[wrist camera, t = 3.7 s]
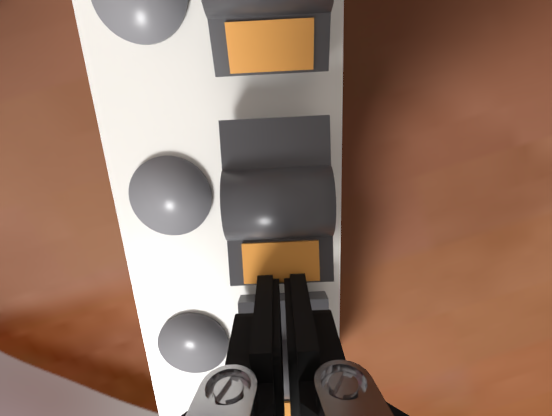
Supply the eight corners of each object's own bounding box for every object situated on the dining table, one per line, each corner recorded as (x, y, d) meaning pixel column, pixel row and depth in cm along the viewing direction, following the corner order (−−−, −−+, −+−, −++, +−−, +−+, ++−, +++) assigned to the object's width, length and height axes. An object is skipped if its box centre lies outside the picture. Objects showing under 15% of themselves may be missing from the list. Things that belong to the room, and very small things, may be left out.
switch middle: (227, 126, 12) (213, 117, 10) (322, 121, 12) (334, 111, 10) (236, 269, 13) (226, 295, 11) (326, 265, 13) (338, 290, 10)
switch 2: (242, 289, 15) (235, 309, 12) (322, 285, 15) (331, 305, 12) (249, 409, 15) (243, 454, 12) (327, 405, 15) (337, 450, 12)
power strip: (50, -409, 11) (-84, -715, 7) (325, -428, 11) (355, -750, 7) (182, 364, 20) (159, 428, 16) (326, 358, 20) (339, 421, 16)
